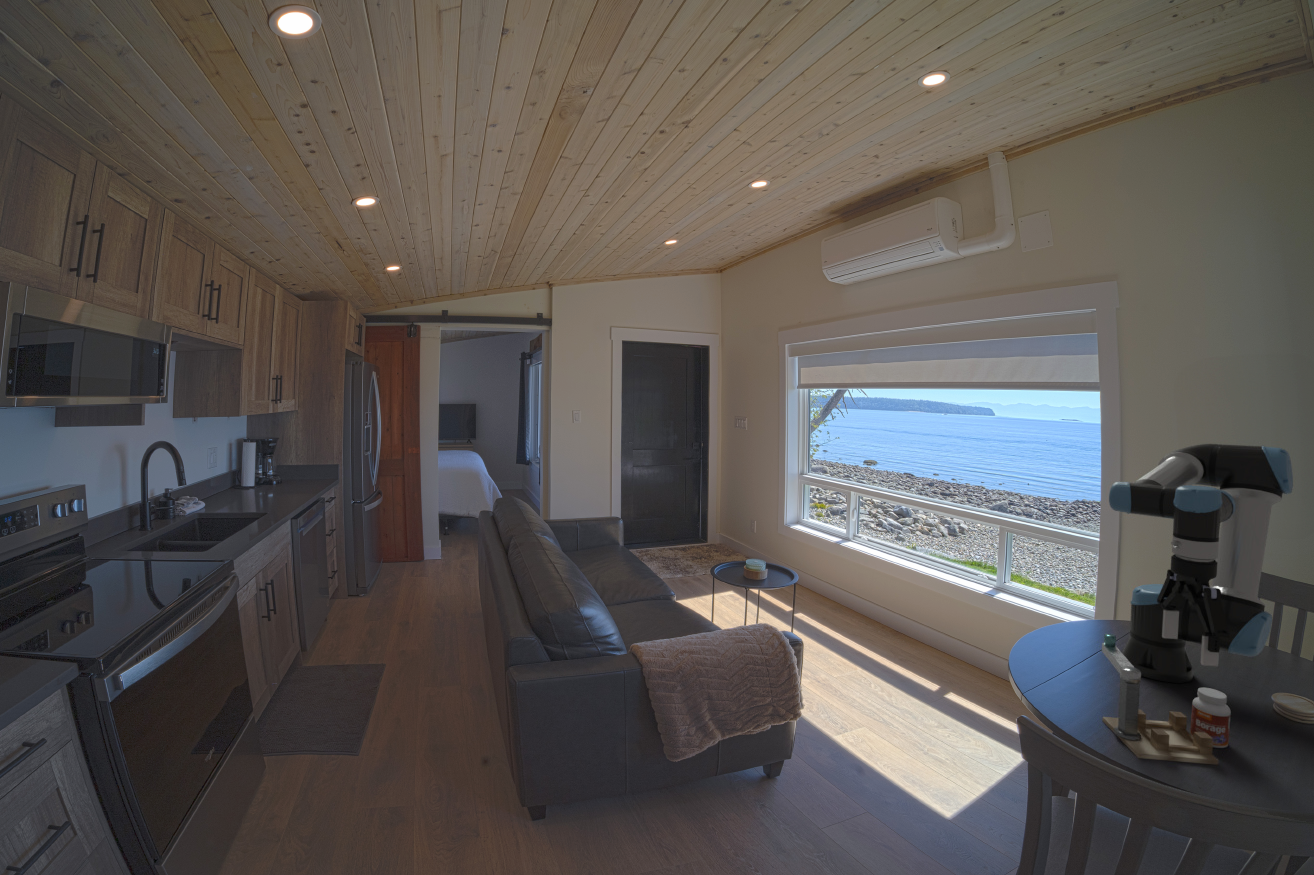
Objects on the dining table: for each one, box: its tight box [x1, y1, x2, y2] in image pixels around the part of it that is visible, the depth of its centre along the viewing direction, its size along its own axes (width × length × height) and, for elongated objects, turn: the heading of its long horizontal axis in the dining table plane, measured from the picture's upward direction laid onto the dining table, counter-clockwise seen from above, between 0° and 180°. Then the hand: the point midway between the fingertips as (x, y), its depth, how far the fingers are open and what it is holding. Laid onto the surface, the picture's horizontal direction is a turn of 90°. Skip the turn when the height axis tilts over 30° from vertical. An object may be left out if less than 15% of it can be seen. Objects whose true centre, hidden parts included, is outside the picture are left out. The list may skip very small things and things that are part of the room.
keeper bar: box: [1101, 633, 1142, 684], centre depth 136 cm, size 16×4×4 cm, turn 159°
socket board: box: [1102, 708, 1219, 765], centre depth 131 cm, size 15×14×4 cm
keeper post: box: [1113, 677, 1141, 741], centre depth 132 cm, size 5×5×12 cm
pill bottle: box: [1189, 687, 1232, 749], centre depth 130 cm, size 6×6×11 cm
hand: (1188, 650), depth 132 cm, fingers open, 13 cm apart
